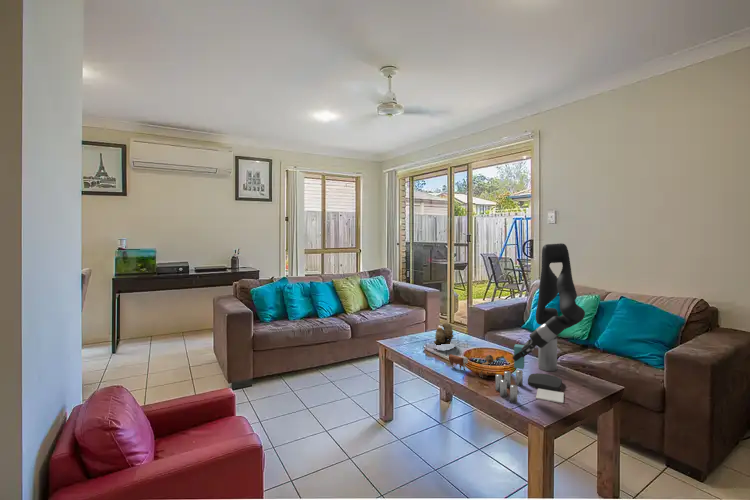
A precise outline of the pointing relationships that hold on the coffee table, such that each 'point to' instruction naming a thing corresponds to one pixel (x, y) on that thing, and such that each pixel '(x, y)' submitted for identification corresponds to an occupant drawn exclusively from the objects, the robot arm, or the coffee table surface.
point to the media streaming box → (545, 382)
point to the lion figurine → (489, 360)
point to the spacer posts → (509, 384)
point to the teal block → (520, 362)
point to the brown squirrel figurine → (444, 334)
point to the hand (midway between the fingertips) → (514, 357)
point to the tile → (550, 395)
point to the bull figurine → (458, 360)
